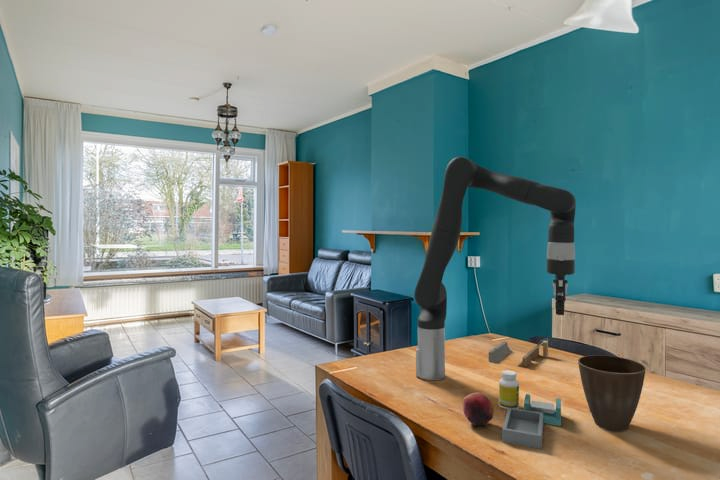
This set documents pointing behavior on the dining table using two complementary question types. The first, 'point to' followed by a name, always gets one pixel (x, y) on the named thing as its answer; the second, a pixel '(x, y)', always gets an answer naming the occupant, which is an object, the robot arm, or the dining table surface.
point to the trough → (523, 428)
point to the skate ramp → (503, 350)
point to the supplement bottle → (508, 390)
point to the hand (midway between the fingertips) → (559, 312)
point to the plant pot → (611, 389)
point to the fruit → (478, 408)
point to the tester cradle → (547, 417)
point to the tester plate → (542, 407)
